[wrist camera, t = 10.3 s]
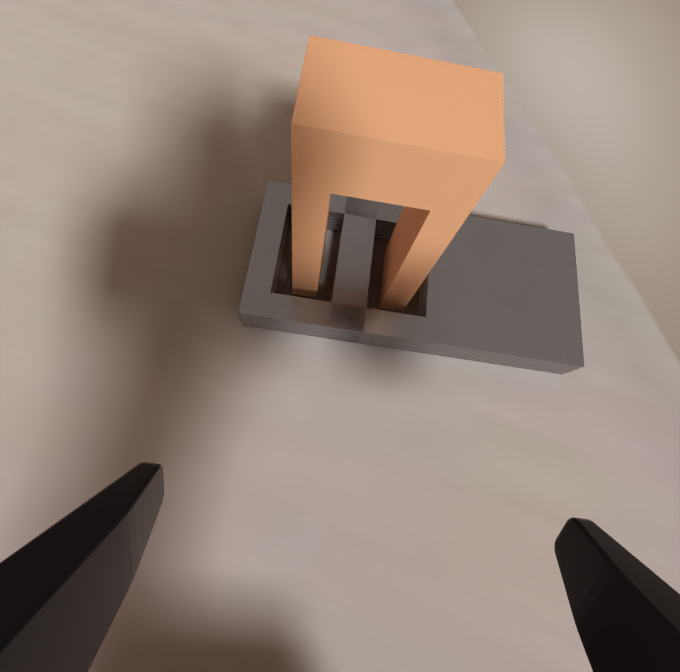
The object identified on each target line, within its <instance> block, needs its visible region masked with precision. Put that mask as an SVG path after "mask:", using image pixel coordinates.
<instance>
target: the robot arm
mask: <svg viewBox="0 0 680 672" xmlns="http://www.w3.org/2000/svg"><path fill="white" fill-rule="evenodd" d="M163 496H164V481H163V467H162V466H161V465H160V464H154V463H147V462H143V463H140V464H138V465H137V466H135V467H134V468H133V469H131V470H130V471H128V472H127V473H126V474H124V475H123V476H121V477H120V478H119V479H117V480H116V481H114V482H113V483H111V484H110V485H109V486H107V487H106V488H104V489H103V490H102V491H100V492H99V493H97V494H96V495H95V496H93V497H92V498H90V499H89V500H88V501H86V502H85V503H83V504H82V505H81V506H79V507H78V508H76V509H75V510H74V511H72V512H71V513H69V514H68V515H67V516H65V517H64V518H62V519H61V520H60V521H58V522H57V523H55V524H54V525H53V526H51V527H50V528H48V529H47V530H46V531H44V532H43V533H41V534H40V535H39V536H37V537H36V538H34V539H33V540H31V541H30V542H29V543H27V544H26V545H24V546H23V547H22V548H20V549H19V550H17V551H16V552H15V553H13V554H12V555H10V556H9V557H8V558H6V559H5V560H3V561H2V562H1V563H0V672H88V670H89V668H90V666H91V664H92V662H93V660H94V658H95V656H96V654H97V652H98V650H99V648H100V646H101V644H102V642H103V640H104V638H105V636H106V634H107V632H108V630H109V627H110V625H111V623H112V621H113V619H114V617H115V615H116V613H117V611H118V609H119V607H120V605H121V603H122V601H123V599H124V597H125V595H126V593H127V591H128V589H129V587H130V585H131V582H132V580H133V578H134V576H135V573H136V571H137V568H138V566H139V563H140V560H141V558H142V555H143V552H144V550H145V547H146V544H147V541H148V539H149V536H150V533H151V531H152V528H153V525H154V523H155V520H156V517H157V515H158V512H159V509H160V507H161V504H162V501H163ZM555 554H556V557H557V561H558V565H559V568H560V572H561V575H562V579H563V582H564V586H565V589H566V593H567V596H568V600H569V604H570V607H571V611H572V614H573V617H574V621H575V624H576V627H577V630H578V633H579V635H580V638H581V641H582V644H583V646H584V649H585V652H586V654H587V657H588V660H589V662H590V665H591V667H592V670H593V672H680V594H679V593H678V592H676V591H675V590H674V589H673V588H672V587H670V586H669V585H668V584H667V583H666V582H664V581H663V580H662V579H661V578H660V577H658V576H657V575H656V574H655V573H654V572H652V571H651V570H650V569H649V568H648V567H646V566H645V565H644V564H643V563H642V562H640V561H639V560H638V559H637V558H636V557H634V556H633V555H632V554H631V553H630V552H628V551H627V550H626V549H625V548H624V547H622V546H621V545H620V544H619V543H618V542H616V541H615V540H614V539H613V538H612V537H610V536H609V535H608V534H607V533H606V532H604V531H603V530H602V529H601V528H600V527H598V526H597V525H596V524H595V523H594V522H592V521H590V520H588V519H582V518H570V519H568V521H567V522H566V524H565V525H564V527H563V529H562V530H561V532H560V534H559V535H558V537H557V539H556V541H555Z"/></svg>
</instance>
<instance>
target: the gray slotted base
mask: <svg viewBox="0 0 680 672" xmlns="http://www.w3.org/2000/svg"><path fill="white" fill-rule="evenodd" d="M403 207H404V206H401V205H395V204H389V203H383V202H377V201H372V200H366V199H360V198H354V197H348V196H342V195H337V194H331V201H330V208H329V215H328V223H327V230H333V231H339V232H341V234H340V241H339V248H338V255H337V262H336V269H335V276H334V283H333V290H332V297H331V302H327V301H321V300H315V299H308V298H302V297H296V296H290V295H283V294H277V293H275V289H276V284H277V279H278V274H279V269H280V263H281V258H282V253H283V248H284V243H285V238H286V233H287V228H288V223H292V184H289V183H283V182H278V181H272V180H268V182H267V186H266V191H265V195H264V200H263V204H262V209H261V213H260V218H259V222H258V227H257V231H256V235H255V240H254V244H253V249H252V253H251V258H250V262H249V267H248V271H247V275H246V280H245V284H244V289H243V293H242V298H241V302H240V307H239V311H238V314H239V317H240V320H241V322H242V325H245V326H251V327H258V328H264V329H271V330H277V331H284V332H290V333H297V334H303V335H310V336H316V337H323V338H329V339H336V340H342V341H349V342H355V343H362V344H369V345H375V346H382V347H388V348H395V349H401V350H408V351H414V352H421V353H427V354H434V355H440V356H447V357H453V358H460V359H466V360H473V361H479V362H486V363H492V364H499V365H505V366H512V367H519V368H525V369H532V370H538V371H545V372H551V373H558V374H564V373H567V372H570V371H573V370H576V369H578V368H581V367H584V358H583V346H582V333H581V320H580V307H579V294H578V282H577V269H576V256H575V243H574V234H572V233H566V232H561V231H555V230H549V229H544V228H538V227H532V226H527V225H521V224H515V223H510V222H504V221H498V220H493V219H487V218H481V217H476V216H470V215H468V217H467V218H466V220H465V221H464V223H463V224H462V226H461V227H460V228H459V230H458V231H457V233H456V234H455V236H454V237H453V239H452V240H451V242H450V243H449V245H448V246H447V247H446V249H445V250H444V252H443V253H442V255H441V256H440V258H439V259H438V261H437V262H436V263H435V265H434V266H433V268H432V269H431V271H430V272H429V274H428V275H427V277H426V278H425V279H424V281H423V282H422V284H421V285H420V287H419V291H418V306H417V316H415V315H409V314H403V313H396V312H390V311H384V310H378V309H371V308H366V307H367V298H368V289H369V280H370V271H371V262H372V253H373V244H374V238H380V239H385V240H390V238H391V236H392V233H393V231H394V229H395V226H396V224H397V221H398V219H399V217H400V214H401V212H402V210H403Z"/></svg>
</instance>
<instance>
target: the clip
mask: <svg viewBox="0 0 680 672" xmlns="http://www.w3.org/2000/svg"><path fill="white" fill-rule="evenodd" d="M504 163H505V139H504V88H503V73H499V72H494V71H489V70H484V69H479V68H474V67H469V66H463V65H458V64H453V63H448V62H443V61H438V60H433V59H428V58H423V57H418V56H413V55H408V54H403V53H398V52H393V51H387V50H382V49H377V48H372V47H367V46H362V45H357V44H352V43H347V42H342V41H337V40H332V39H327V38H322V37H316V36H311V35H309V39H308V44H307V49H306V54H305V59H304V63H303V68H302V73H301V78H300V83H299V88H298V92H297V97H296V102H295V107H294V112H293V117H292V121H291V176H292V294H295V295H301V296H308V297H314V298H316V297H317V290H318V284H319V277H320V271H321V264H322V258H323V251H324V244H325V237H326V230H327V223H328V215H329V208H330V201H331V194H337V195H342V196H348V197H354V198H360V199H366V200H372V201H377V202H383V203H389V204H395V205H401V206H404V207H403V210H402V212H401V214H400V217H399V219H398V221H397V224H396V226H395V229H394V231H393V233H392V236H391V238H390V241H389V243H388V245H387V248H386V250H385V254H384V265H383V275H382V286H381V296H380V307H379V308H385V309H392V310H398V311H403V310H404V309H405V307H406V306H407V304H408V303H409V301H410V300H411V298H412V297H413V296H414V294H415V293H416V291H417V290H418V288H419V287H420V285H421V284H422V282H423V281H424V279H425V278H426V277H427V275H428V274H429V272H430V271H431V269H432V268H433V266H434V265H435V263H436V262H437V261H438V259H439V258H440V256H441V255H442V253H443V252H444V250H445V249H446V247H447V246H448V245H449V243H450V242H451V240H452V239H453V237H454V236H455V234H456V233H457V231H458V230H459V228H460V227H461V226H462V224H463V223H464V221H465V220H466V218H467V217H468V215H469V214H470V212H471V211H472V210H473V208H474V207H475V205H476V204H477V202H478V201H479V199H480V198H481V196H482V195H483V194H484V192H485V191H486V189H487V188H488V186H489V185H490V183H491V182H492V180H493V179H494V178H495V176H496V175H497V173H498V172H499V170H500V169H501V167H502V166H503V164H504Z"/></svg>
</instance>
